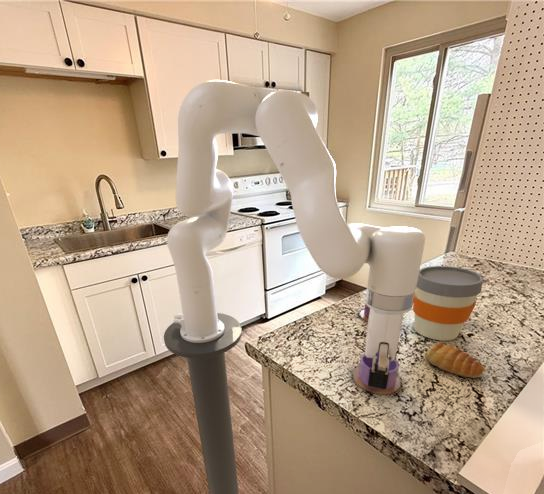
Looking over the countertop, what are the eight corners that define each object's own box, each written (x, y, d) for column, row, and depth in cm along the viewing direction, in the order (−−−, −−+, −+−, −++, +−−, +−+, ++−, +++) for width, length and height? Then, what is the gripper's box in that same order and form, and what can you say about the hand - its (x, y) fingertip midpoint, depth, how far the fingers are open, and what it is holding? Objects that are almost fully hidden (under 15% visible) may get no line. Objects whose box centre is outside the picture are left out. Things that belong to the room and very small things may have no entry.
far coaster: (358, 321, 85) (358, 320, 85) (360, 307, 92) (360, 306, 92) (395, 326, 81) (396, 325, 81) (394, 311, 88) (394, 310, 88)
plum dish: (363, 319, 85) (365, 305, 83) (364, 308, 90) (366, 295, 88) (391, 322, 82) (394, 308, 80) (391, 311, 87) (393, 297, 85)
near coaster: (351, 388, 63) (351, 386, 63) (354, 363, 70) (354, 361, 69) (401, 399, 59) (401, 397, 59) (399, 371, 66) (399, 369, 66)
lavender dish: (357, 384, 63) (359, 368, 61) (359, 365, 68) (361, 349, 66) (396, 393, 60) (399, 375, 58) (394, 371, 65) (398, 355, 63)
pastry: (487, 370, 63) (493, 355, 61) (472, 385, 60) (478, 369, 58) (436, 350, 70) (440, 336, 69) (421, 362, 67) (424, 348, 66)
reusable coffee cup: (398, 318, 84) (407, 266, 78) (450, 318, 82) (464, 264, 75) (418, 344, 73) (431, 286, 67) (479, 345, 71) (498, 284, 64)
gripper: (367, 278, 65) (359, 348, 72) (364, 317, 51) (354, 399, 58) (409, 280, 61) (396, 354, 69) (418, 323, 48) (400, 409, 55)
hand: (377, 374), depth 64 cm, fingers closed on lavender dish, 6 cm apart
